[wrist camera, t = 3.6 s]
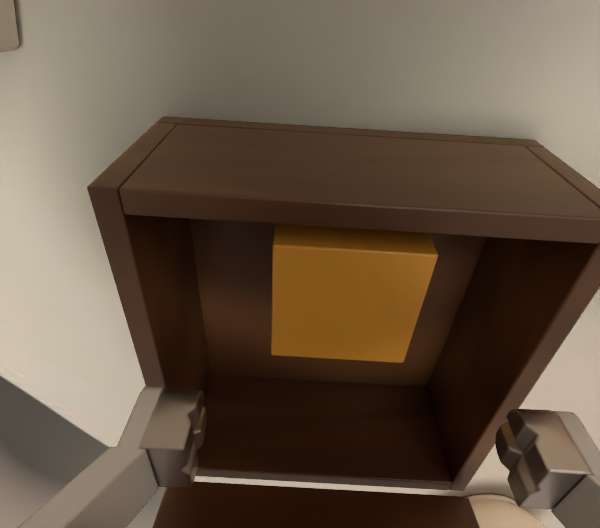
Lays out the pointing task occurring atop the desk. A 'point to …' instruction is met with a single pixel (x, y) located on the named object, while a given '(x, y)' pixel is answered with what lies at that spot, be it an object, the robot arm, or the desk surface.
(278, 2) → the desk surface
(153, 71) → the desk surface
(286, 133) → the chest
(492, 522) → the trinket box
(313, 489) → the lid
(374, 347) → the block
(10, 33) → the handheld gaming console
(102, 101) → the desk surface
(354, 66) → the desk surface
